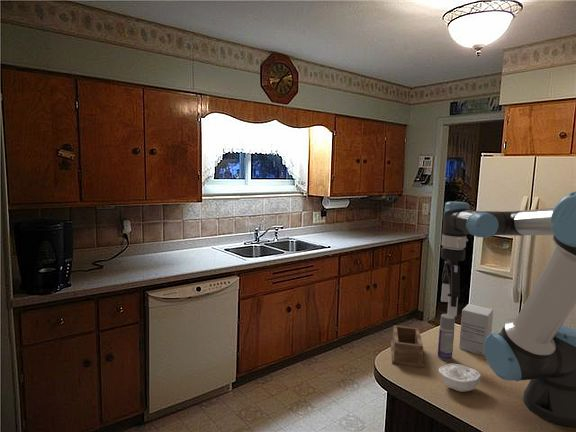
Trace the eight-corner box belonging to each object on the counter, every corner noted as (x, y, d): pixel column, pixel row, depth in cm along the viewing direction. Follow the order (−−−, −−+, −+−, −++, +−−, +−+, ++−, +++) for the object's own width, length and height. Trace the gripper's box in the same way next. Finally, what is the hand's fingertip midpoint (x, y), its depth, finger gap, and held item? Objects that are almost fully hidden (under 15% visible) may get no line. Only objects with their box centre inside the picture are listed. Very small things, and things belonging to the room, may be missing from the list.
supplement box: (464, 340, 146) (468, 303, 144) (490, 347, 141) (494, 308, 139) (458, 348, 139) (461, 309, 137) (484, 356, 134) (488, 315, 132)
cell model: (487, 396, 109) (490, 374, 108) (448, 398, 108) (450, 376, 107) (467, 377, 119) (469, 357, 118) (431, 379, 118) (432, 358, 117)
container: (439, 352, 135) (442, 312, 134) (453, 356, 133) (456, 315, 131) (435, 357, 131) (439, 316, 130) (450, 362, 129) (453, 319, 127)
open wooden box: (423, 367, 124) (425, 347, 124) (392, 363, 127) (393, 343, 126) (418, 345, 140) (419, 327, 140) (390, 342, 143) (391, 324, 142)
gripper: (474, 256, 115) (468, 323, 117) (458, 241, 139) (453, 297, 141) (447, 254, 116) (442, 320, 119) (436, 240, 140) (432, 295, 143)
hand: (448, 308), depth 130 cm, fingers open, 13 cm apart
